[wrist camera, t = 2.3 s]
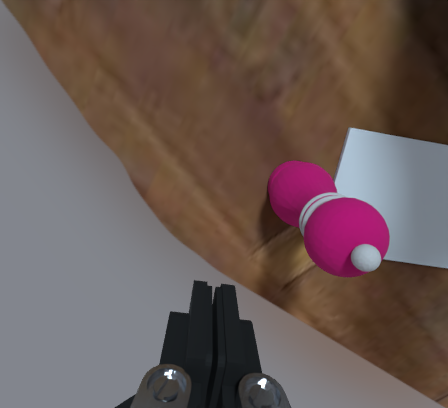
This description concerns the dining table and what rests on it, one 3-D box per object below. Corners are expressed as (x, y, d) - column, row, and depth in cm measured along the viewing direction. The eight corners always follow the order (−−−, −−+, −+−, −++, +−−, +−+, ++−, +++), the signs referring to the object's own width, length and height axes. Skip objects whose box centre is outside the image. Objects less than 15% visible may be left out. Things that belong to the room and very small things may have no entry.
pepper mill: (332, 175, 37) (454, 246, 18) (298, 221, 39) (378, 329, 20) (285, 145, 36) (366, 187, 17) (252, 194, 38) (291, 282, 19)
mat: (348, 127, 36) (350, 127, 35) (500, 154, 37) (505, 155, 37) (313, 247, 40) (315, 249, 40) (450, 267, 42) (453, 269, 41)
